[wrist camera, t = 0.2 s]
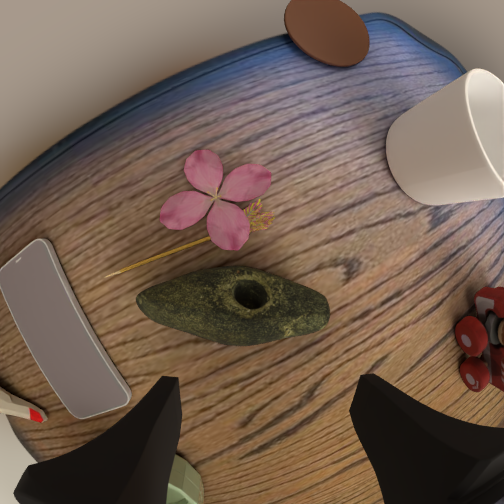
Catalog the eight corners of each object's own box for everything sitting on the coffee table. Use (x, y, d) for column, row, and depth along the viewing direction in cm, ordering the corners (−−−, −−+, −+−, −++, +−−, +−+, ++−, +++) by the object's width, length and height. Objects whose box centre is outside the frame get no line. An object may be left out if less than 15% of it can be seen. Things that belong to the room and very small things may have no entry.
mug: (459, 114, 21) (528, 83, 11) (481, 192, 22) (558, 182, 12) (369, 117, 20) (444, 59, 10) (397, 215, 21) (493, 205, 11)
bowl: (163, 516, 21) (159, 542, 17) (74, 462, 20) (59, 487, 16) (228, 478, 21) (229, 510, 17) (121, 412, 20) (104, 442, 16)
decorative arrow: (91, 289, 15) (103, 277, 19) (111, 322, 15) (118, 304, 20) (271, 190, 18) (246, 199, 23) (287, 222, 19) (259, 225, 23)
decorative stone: (278, 217, 20) (294, 211, 15) (324, 310, 21) (350, 331, 16) (141, 290, 20) (115, 306, 15) (193, 377, 20) (185, 412, 15)
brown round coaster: (289, -17, 16) (283, -9, 18) (281, 49, 18) (275, 56, 19) (368, 11, 18) (360, 17, 20) (369, 77, 20) (360, 81, 21)
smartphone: (76, 421, 19) (-6, 273, 18) (79, 416, 20) (0, 272, 18) (134, 402, 19) (43, 233, 18) (137, 396, 20) (49, 233, 19)
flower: (181, 277, 18) (177, 275, 17) (148, 177, 20) (144, 172, 19) (296, 227, 19) (298, 222, 18) (248, 135, 20) (247, 127, 20)
